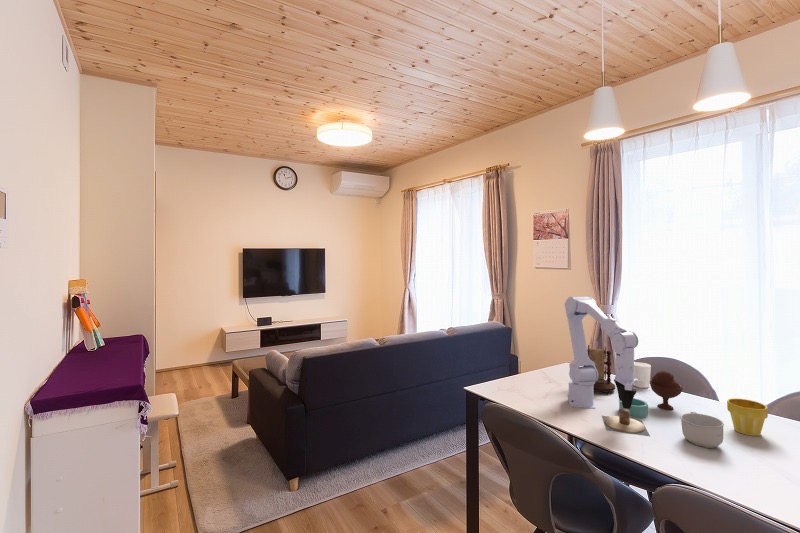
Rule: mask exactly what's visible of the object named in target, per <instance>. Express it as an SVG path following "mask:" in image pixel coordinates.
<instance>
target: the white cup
mask: <svg viewBox="0 0 800 533" xmlns="http://www.w3.org/2000/svg"><path fill="white" fill-rule="evenodd" d="M651 369H652V366H651V364H650V363H646V362H639V361H638V362H637V361H634V379H638V382H634V383H633V385H632V386H634V387H636V388H643V389H646V388H650V381H651V373H652V372H651V371H652V370H651Z"/></svg>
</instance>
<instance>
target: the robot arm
mask: <svg viewBox="0 0 800 533" xmlns="http://www.w3.org/2000/svg"><path fill="white" fill-rule="evenodd" d="M564 308H565V313H566V318H567V323H568V328H569V330H568V331H569V334H570V335H569V336H570V341H571V346H572V352H573V358H574V359H573V360H572V361H571V362H570V363H569V371H568V372H569V373H568V375H569V379H570V380H571V381H568V395H567V400H568V405H569V406H570V407H575V408H576V407H577V408H585V409H593V410H595V409H596V406H595V402H594V384H595V381H597V380H598V371H597V369H596V367H595V363H594V362H593V361H591V360H590V359H589V357H588V352H587V350H588V345H587V342H586V337H585V336H586V334H585V331H584V325H583V319H584V318H585V317H586V316H587V315H589V316H591V317H592V319H594V320H595V321H597V323H599V324H600V329H601V330H602V331H603V332H604V333H605V334H606V336H608V337H609V338H610V340H611V344H612V346H613V352H614V354H615V371H614V372H615V376H614V379H613V382H614V385H615V388H616V390H617V394H618V401H619V400H620V401H622V405H623V408H627V409H630V408H631V404H632V400H633V398H635V395H636V394H637V393H638V391H637V389H634V388H633V386H634V385H633V383H634V382H638V379H634V362H635V348H637V347H638V346H639V338H638V336H637V334H636V333H635V332H634V331H632V330H631V331H630V330H628V329H625V327H624V326H622V325H621V324H620V323H619V322H618V321H617V319H615V318H612V317H608V316H607V315H606V314H605V313H604V311H602V309H600V308H599V306H598V305H597V301H596V300H595V299H594V298H593V297H592V296H590V295H587V296H569V297H567V299H566V300H565V301H564ZM584 365H585V367H584Z"/></svg>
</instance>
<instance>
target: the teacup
mask: <svg viewBox="0 0 800 533" xmlns="http://www.w3.org/2000/svg"><path fill="white" fill-rule="evenodd" d="M680 419H681V421H680V422H681V423H680V424H681V430H682V434H683V436H684V438H685V439H686V440H687V441H689V442H690V443H691V444H694V445H696V446H699V447H703V448H707V449H713V448H714V449H715V448H717V447H718V446H720V445H722V443H724V425H725V424H724V421H723V420H721V419H719V418H718V417H715V416H711V415H708V414H703V413H697V412H696V411H690V412H689V413H684V414H681V415H680Z"/></svg>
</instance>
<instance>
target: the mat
mask: <svg viewBox="0 0 800 533" xmlns="http://www.w3.org/2000/svg"><path fill="white" fill-rule="evenodd" d="M601 417H602V421H603V424H604V427H605V431H611V432H617V433H623V434H624V433H625V434H632V435H637V436H645V437H651V435H650V433H649V431H648V429H647V428H646V426H645V424H644V422H643V421H642V420H639V419H638V420H637V419H636V420H637V421H639V422H641V423H642V424H643V425H644V426H645V430H644V431H643V432H639V433H629V432H623V431H619V430H616V429H613V428H611V427H609V426H608V425H607V424H606V423H605V419H606V418H607V417H610V416H608V415H602V416H601Z"/></svg>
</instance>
